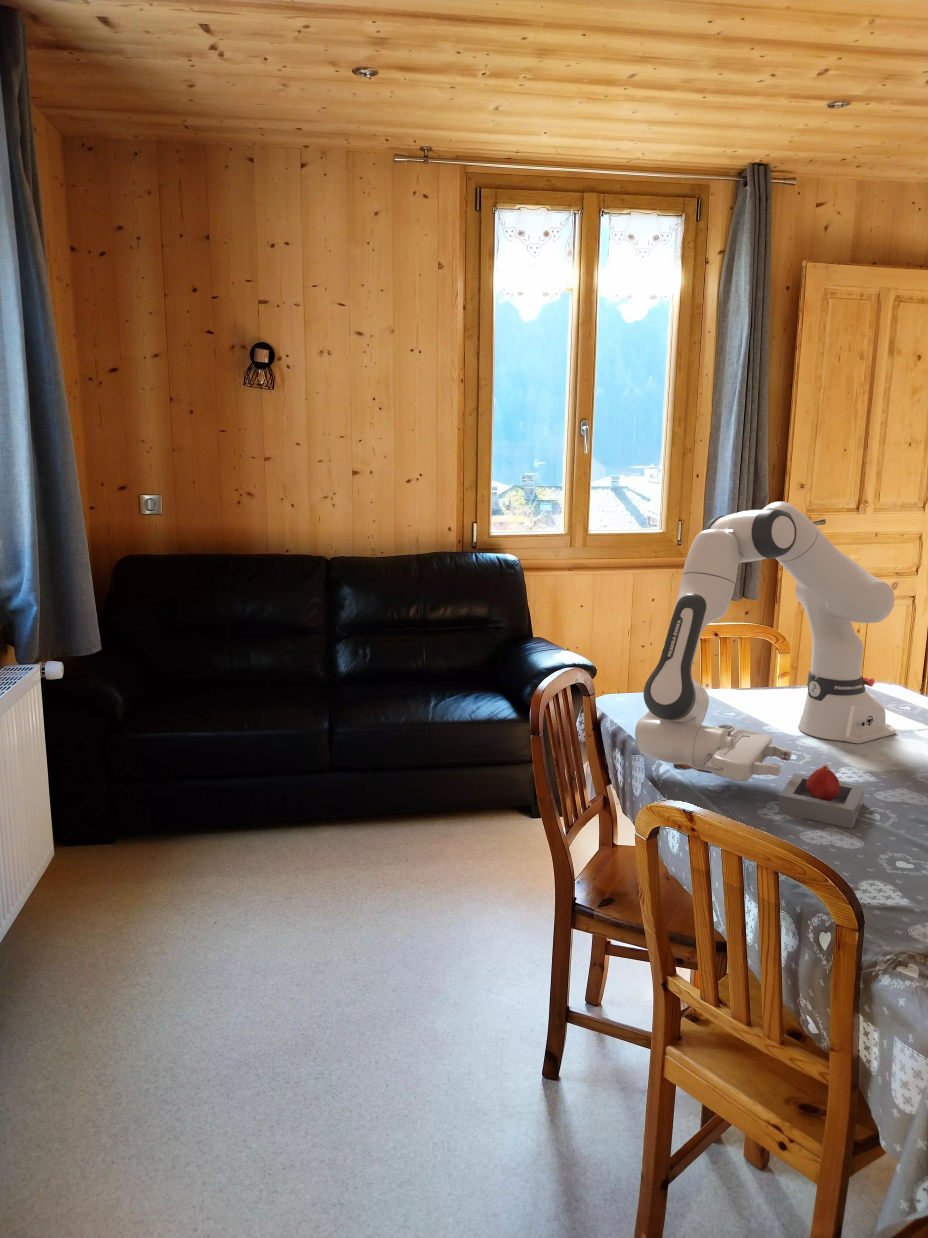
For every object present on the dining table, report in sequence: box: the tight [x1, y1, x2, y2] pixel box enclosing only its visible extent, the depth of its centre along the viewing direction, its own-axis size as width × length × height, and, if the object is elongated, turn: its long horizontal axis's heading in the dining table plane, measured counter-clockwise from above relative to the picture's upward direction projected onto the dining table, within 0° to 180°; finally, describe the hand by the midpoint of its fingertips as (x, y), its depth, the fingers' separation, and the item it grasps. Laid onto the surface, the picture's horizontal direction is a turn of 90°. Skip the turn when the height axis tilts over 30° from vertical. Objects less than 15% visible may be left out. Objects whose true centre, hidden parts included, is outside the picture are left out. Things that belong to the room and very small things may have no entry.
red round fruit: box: [807, 764, 840, 801], centre depth 167 cm, size 6×6×8 cm
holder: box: [777, 772, 866, 829], centre depth 168 cm, size 13×13×4 cm
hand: (785, 763), depth 170 cm, fingers open, 8 cm apart
